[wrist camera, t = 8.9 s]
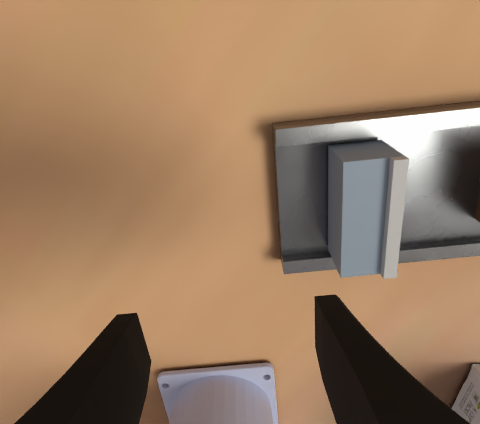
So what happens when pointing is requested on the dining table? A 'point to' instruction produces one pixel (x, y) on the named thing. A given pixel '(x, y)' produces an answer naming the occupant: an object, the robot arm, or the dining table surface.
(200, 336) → the dining table surface
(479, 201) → the block
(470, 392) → the tea box
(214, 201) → the dining table surface
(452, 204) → the vise
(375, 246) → the block
